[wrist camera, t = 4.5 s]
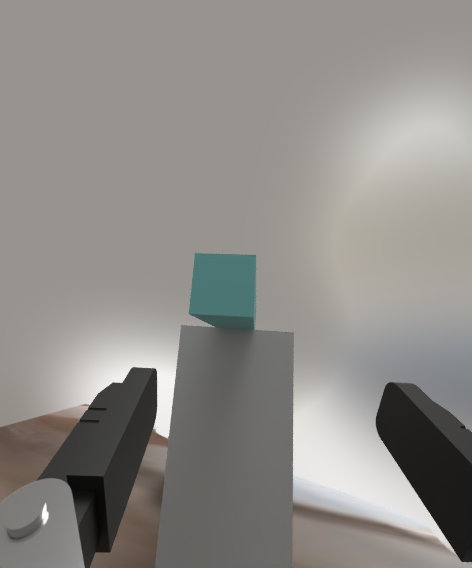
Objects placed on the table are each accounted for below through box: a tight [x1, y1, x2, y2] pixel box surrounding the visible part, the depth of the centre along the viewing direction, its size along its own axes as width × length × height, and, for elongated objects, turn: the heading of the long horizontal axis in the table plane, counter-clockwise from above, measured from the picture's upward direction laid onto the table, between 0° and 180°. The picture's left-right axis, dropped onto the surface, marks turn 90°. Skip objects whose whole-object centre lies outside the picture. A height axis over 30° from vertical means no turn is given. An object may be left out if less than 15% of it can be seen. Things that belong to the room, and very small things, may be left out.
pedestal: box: [155, 325, 294, 568], centre depth 31 cm, size 18×14×32 cm
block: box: [189, 253, 256, 330], centre depth 30 cm, size 28×4×4 cm, turn 176°
